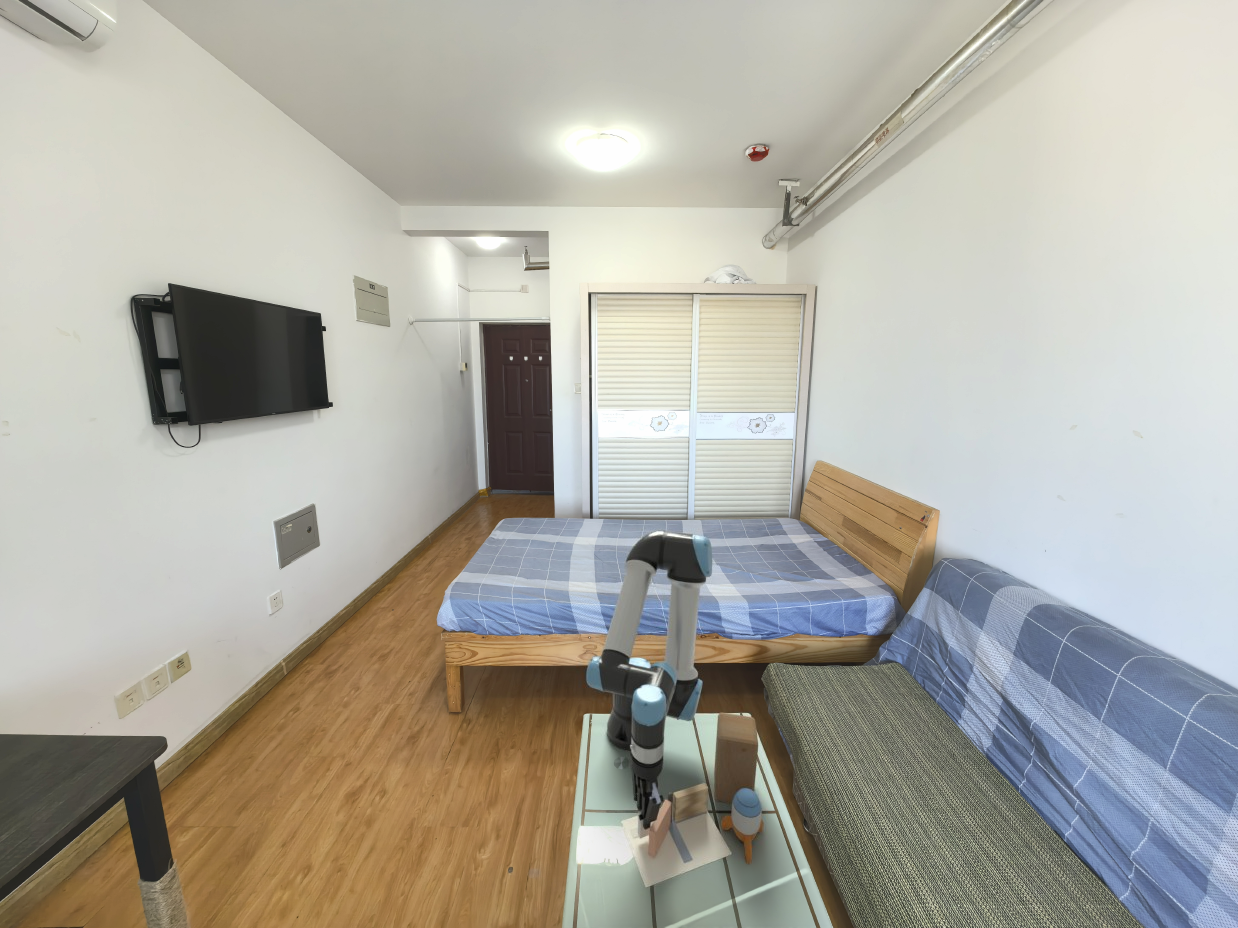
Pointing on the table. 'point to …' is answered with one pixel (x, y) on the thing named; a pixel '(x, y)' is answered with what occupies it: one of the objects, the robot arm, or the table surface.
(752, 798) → the toy rocket
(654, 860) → the card
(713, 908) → the table surface
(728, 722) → the wooden block
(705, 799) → the fixed fence panel
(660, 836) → the hinged fence panel
